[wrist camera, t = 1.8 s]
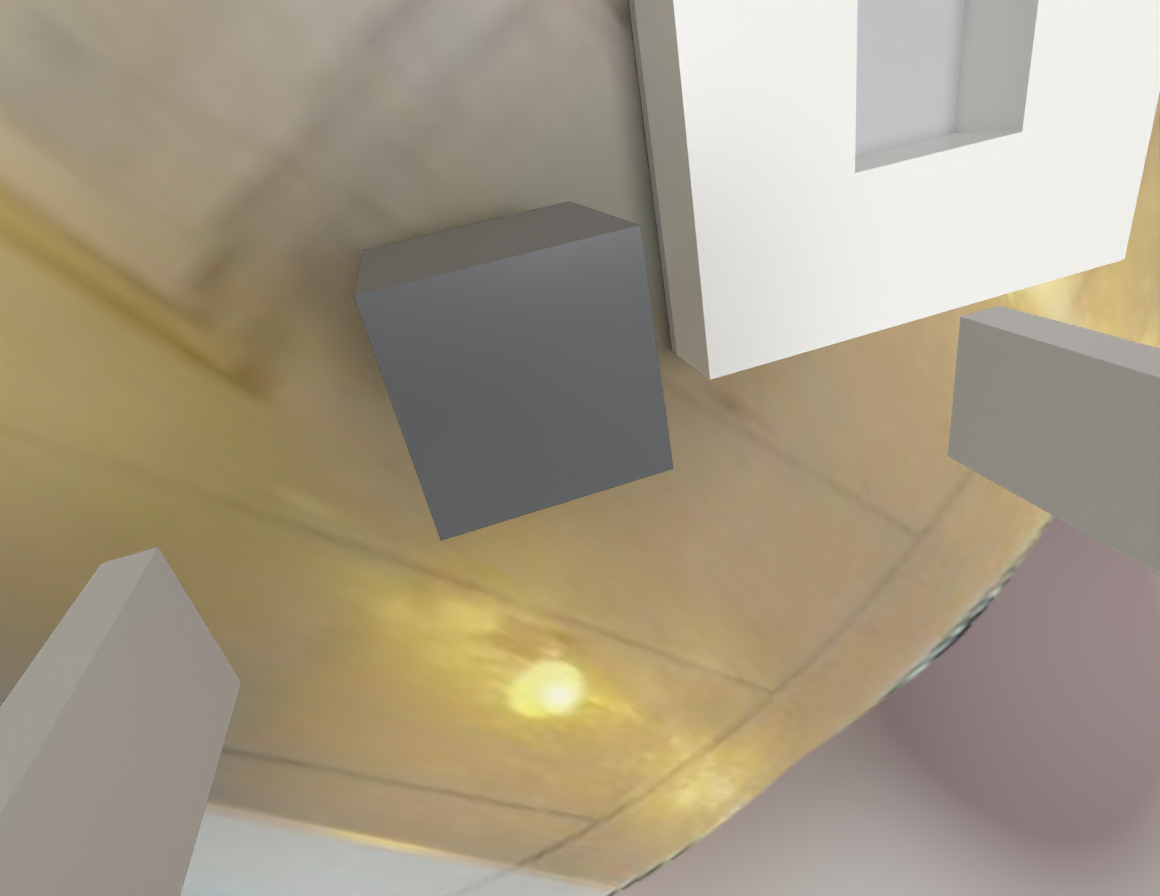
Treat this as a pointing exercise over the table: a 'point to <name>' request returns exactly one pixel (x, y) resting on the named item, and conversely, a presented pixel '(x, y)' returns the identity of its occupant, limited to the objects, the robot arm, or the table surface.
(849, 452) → the table surface
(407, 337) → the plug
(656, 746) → the table surface
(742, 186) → the socket plate
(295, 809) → the table surface
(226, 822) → the table surface
